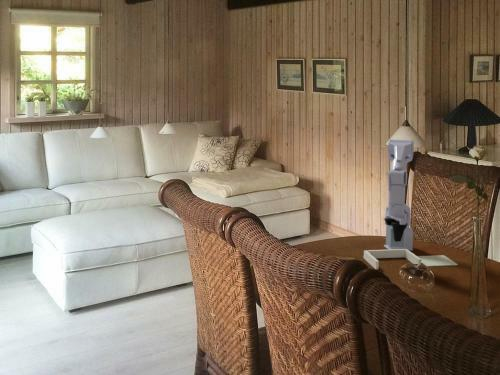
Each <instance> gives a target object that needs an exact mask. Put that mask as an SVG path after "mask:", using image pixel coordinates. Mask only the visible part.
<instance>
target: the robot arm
mask: <svg viewBox="0 0 500 375" xmlns="http://www.w3.org/2000/svg"><path fill="white" fill-rule="evenodd" d="M387 142H388V143H387V144H388V145H387V156H388V161H391V163H390V170H389V172H388V176H387V185H388V205H387V206H386V208H385V214H384V225H385V226H386V225H392V227H393V231H394V240H395V242H398V241H401V239H402V236H403V232H404V247H390V246H388V245H387V244H384V245H383V246H384V248H386V250H390V249H407V250H409V251H414V248H413V242H414V241H413V240H414V232H413V229H412V227H411V208H410V206H408V205H407V204H406V203H405V200H406V187H407V185H408V184H407V183H408V172H407V166H408V163H409V162H412V161H413V158H414V147H415V141H414V140H413V139H391V138H390V139H389V140H388V141H387Z"/></svg>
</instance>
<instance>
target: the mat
mask: <svg viewBox="0 0 500 375" xmlns="http://www.w3.org/2000/svg"><path fill="white" fill-rule="evenodd" d="M416 256H417V257H419V258H420V259H421V264H423V265H424V266H426V268H427V267H429V268H430V267H447V266H448V267H449V266H459V263H456V262H455V261H453V260H452V259H451V258H449V257H447V256H446V255H444V254H443V255H442V254H441V255H439V254H438V255H436V254H435V255H416Z"/></svg>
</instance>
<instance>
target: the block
mask: <svg viewBox="0 0 500 375" xmlns="http://www.w3.org/2000/svg"><path fill="white" fill-rule="evenodd" d="M385 245H388V246H390V247H404V232H403V236H402V239H401V241H398V242H395V240H394V231H393V227H392V225H385Z"/></svg>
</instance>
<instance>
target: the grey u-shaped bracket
mask: <svg viewBox="0 0 500 375" xmlns="http://www.w3.org/2000/svg"><path fill="white" fill-rule="evenodd" d="M417 256H418V255H416V254H415V253H413V252H411V250H407V249H390V250H388V249H369V250H363V259H364V260H365V261H366V262H367V263H368V264H369V265H370V266H371V267H373V269H375V270H379V269H380V268H379V266H380V265H379V262H380V261H379V260H378V259H390V258H392V259H393V258H394V259H395V258H405V259H407V260H408V261H409V262H410V263H411V264H413V265H414V264H418V265H421V266H422V263H421V259H420V258H419V257H417Z"/></svg>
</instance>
